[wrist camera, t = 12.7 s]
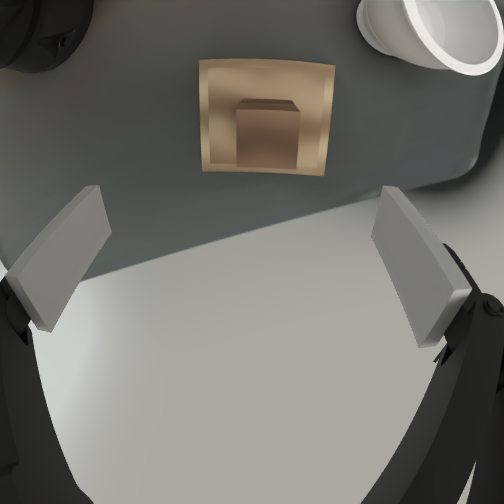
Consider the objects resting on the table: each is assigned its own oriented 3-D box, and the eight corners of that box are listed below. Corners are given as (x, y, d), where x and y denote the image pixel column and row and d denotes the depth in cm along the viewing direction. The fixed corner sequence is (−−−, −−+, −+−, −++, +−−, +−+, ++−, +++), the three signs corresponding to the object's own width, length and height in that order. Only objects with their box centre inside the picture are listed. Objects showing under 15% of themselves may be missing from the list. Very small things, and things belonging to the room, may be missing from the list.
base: (204, 60, 27) (198, 59, 25) (329, 65, 27) (335, 65, 24) (206, 162, 35) (201, 171, 32) (319, 167, 35) (324, 176, 32)
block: (243, 98, 27) (236, 109, 21) (291, 100, 27) (300, 111, 21) (242, 142, 30) (236, 167, 24) (288, 144, 30) (296, 169, 24)
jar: (427, 68, 25) (507, 86, 13) (351, 60, 26) (410, 63, 14) (419, -6, 19) (495, -22, 7) (341, -19, 20) (390, -61, 8)
